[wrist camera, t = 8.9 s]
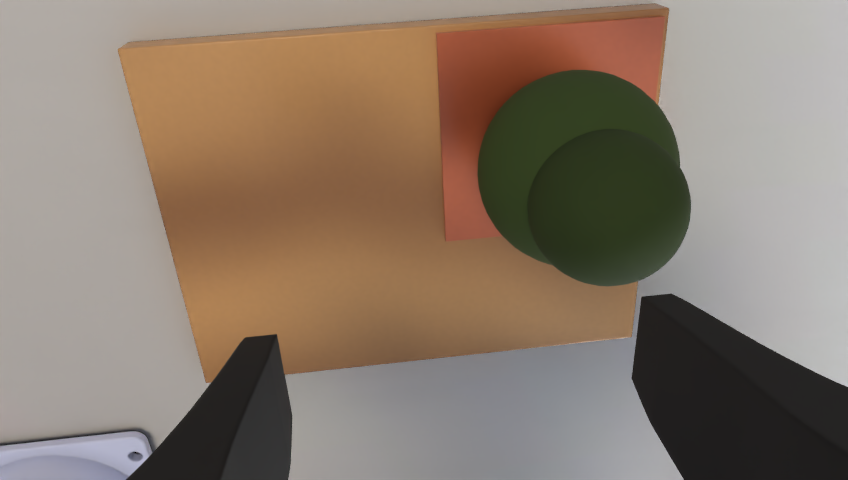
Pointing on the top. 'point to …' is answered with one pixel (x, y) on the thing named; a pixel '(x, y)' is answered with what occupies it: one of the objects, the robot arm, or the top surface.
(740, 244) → the top surface
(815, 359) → the top surface
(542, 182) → the avocado
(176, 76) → the board
